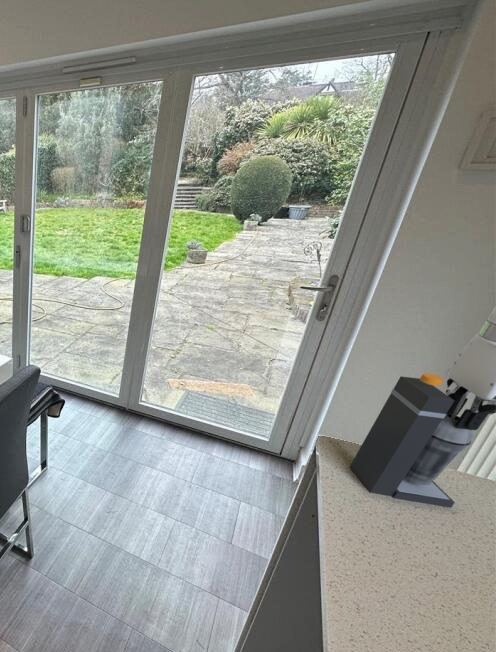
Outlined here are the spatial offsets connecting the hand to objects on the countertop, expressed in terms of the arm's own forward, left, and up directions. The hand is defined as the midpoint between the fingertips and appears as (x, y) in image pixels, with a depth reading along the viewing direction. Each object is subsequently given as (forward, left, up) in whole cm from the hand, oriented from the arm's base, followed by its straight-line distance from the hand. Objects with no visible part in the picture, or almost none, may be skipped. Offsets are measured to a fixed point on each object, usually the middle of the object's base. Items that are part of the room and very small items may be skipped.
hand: (456, 420), depth 79 cm
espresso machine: (+3, 0, -18) cm, 18 cm away
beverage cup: (0, 0, -15) cm, 15 cm away
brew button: (+8, 0, +7) cm, 11 cm away
